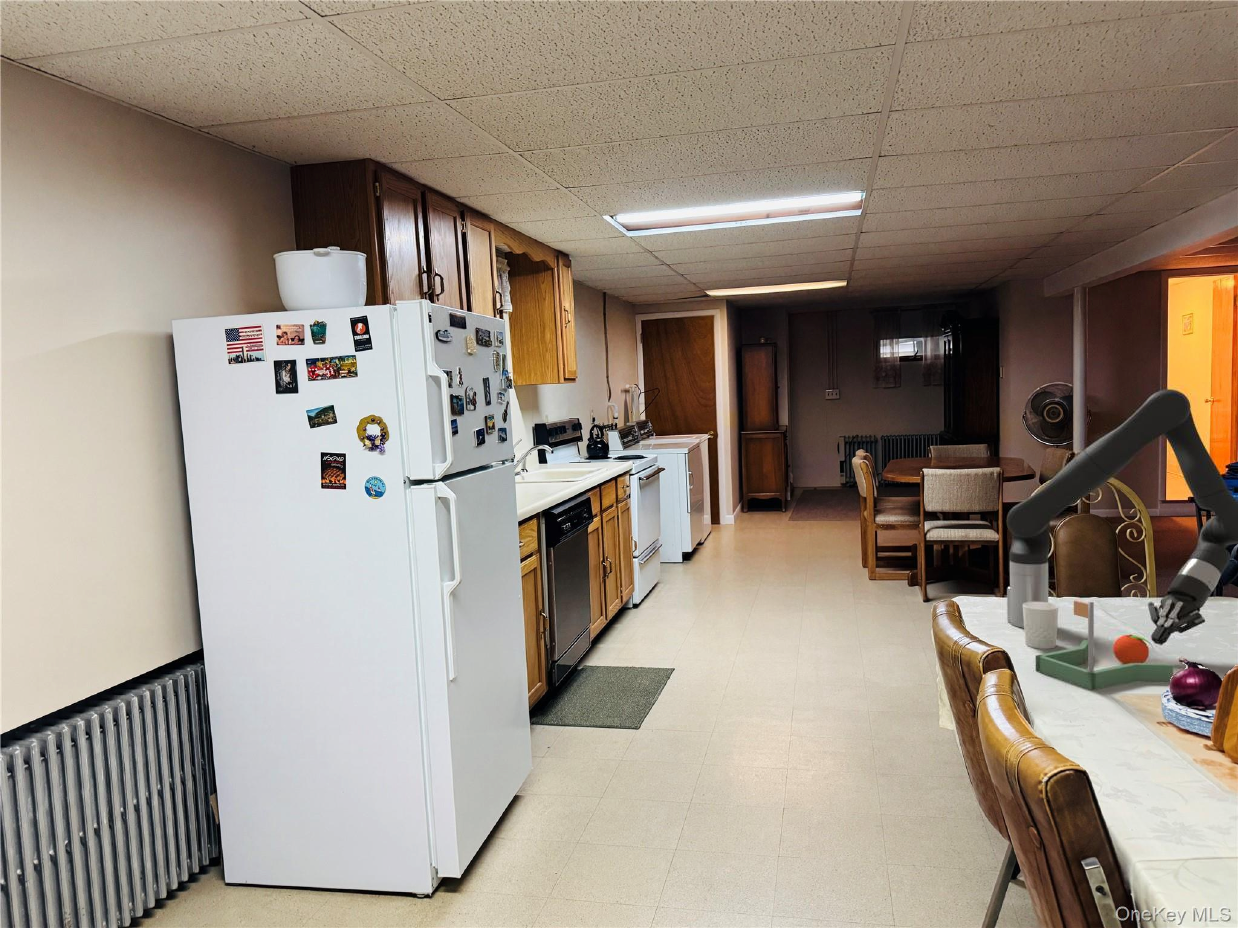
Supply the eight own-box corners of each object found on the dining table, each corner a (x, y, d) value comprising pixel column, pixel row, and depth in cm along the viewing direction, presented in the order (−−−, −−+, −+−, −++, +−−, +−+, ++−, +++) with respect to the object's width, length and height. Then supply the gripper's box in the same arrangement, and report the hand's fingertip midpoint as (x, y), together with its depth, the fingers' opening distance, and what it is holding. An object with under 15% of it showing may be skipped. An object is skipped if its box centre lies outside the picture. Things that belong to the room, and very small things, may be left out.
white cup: (1044, 651, 202) (1044, 610, 201) (1015, 644, 209) (1015, 604, 208) (1065, 646, 206) (1065, 606, 205) (1036, 638, 213) (1036, 600, 212)
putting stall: (1022, 665, 193) (1021, 586, 191) (1085, 653, 199) (1085, 576, 198) (1107, 695, 172) (1107, 607, 171) (1175, 681, 179) (1175, 595, 177)
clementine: (1157, 665, 189) (1157, 634, 189) (1150, 673, 184) (1150, 641, 184) (1117, 658, 195) (1117, 628, 194) (1109, 666, 190) (1109, 635, 189)
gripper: (1159, 568, 200) (1121, 625, 197) (1215, 578, 188) (1176, 639, 184) (1174, 587, 202) (1137, 644, 199) (1231, 599, 190) (1193, 659, 187)
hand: (1156, 642), depth 192 cm, fingers closed
